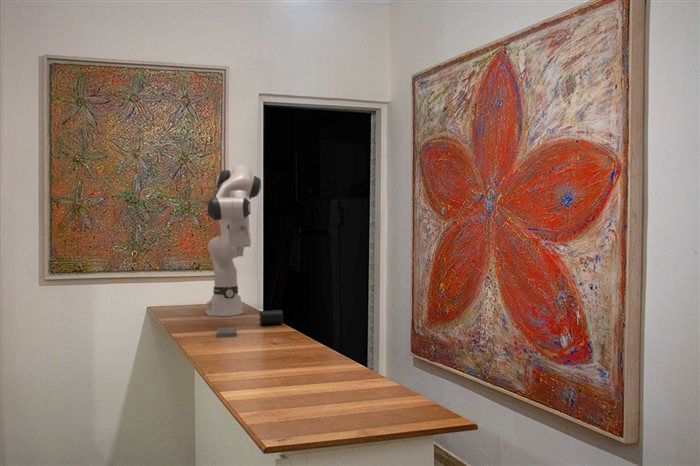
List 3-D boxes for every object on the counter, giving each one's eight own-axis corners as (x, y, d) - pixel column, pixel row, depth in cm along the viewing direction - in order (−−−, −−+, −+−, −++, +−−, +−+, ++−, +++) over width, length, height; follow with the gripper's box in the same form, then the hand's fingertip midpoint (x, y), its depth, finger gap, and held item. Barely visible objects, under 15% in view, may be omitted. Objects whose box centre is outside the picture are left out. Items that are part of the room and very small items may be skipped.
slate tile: (217, 328, 313) (216, 333, 301) (236, 327, 315) (236, 332, 303) (217, 333, 313) (217, 338, 302) (236, 332, 315) (236, 337, 303)
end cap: (261, 327, 327) (261, 312, 327) (258, 324, 334) (258, 310, 333) (283, 325, 330) (283, 310, 330) (280, 323, 337) (279, 308, 337)
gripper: (253, 226, 325) (254, 257, 326) (238, 225, 344) (239, 254, 344) (240, 226, 323) (241, 257, 323) (225, 225, 341) (226, 255, 341)
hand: (240, 256), depth 334 cm, fingers closed
